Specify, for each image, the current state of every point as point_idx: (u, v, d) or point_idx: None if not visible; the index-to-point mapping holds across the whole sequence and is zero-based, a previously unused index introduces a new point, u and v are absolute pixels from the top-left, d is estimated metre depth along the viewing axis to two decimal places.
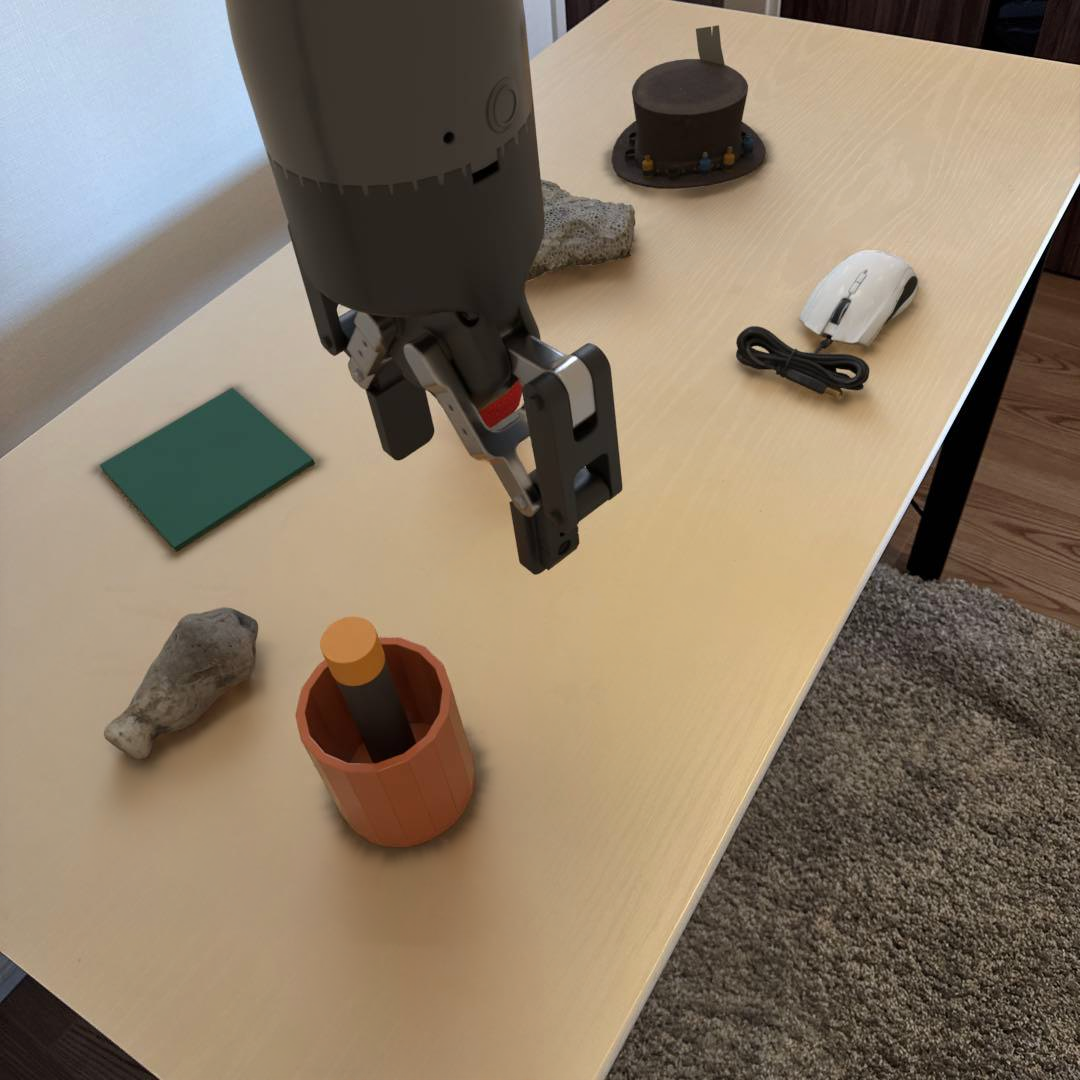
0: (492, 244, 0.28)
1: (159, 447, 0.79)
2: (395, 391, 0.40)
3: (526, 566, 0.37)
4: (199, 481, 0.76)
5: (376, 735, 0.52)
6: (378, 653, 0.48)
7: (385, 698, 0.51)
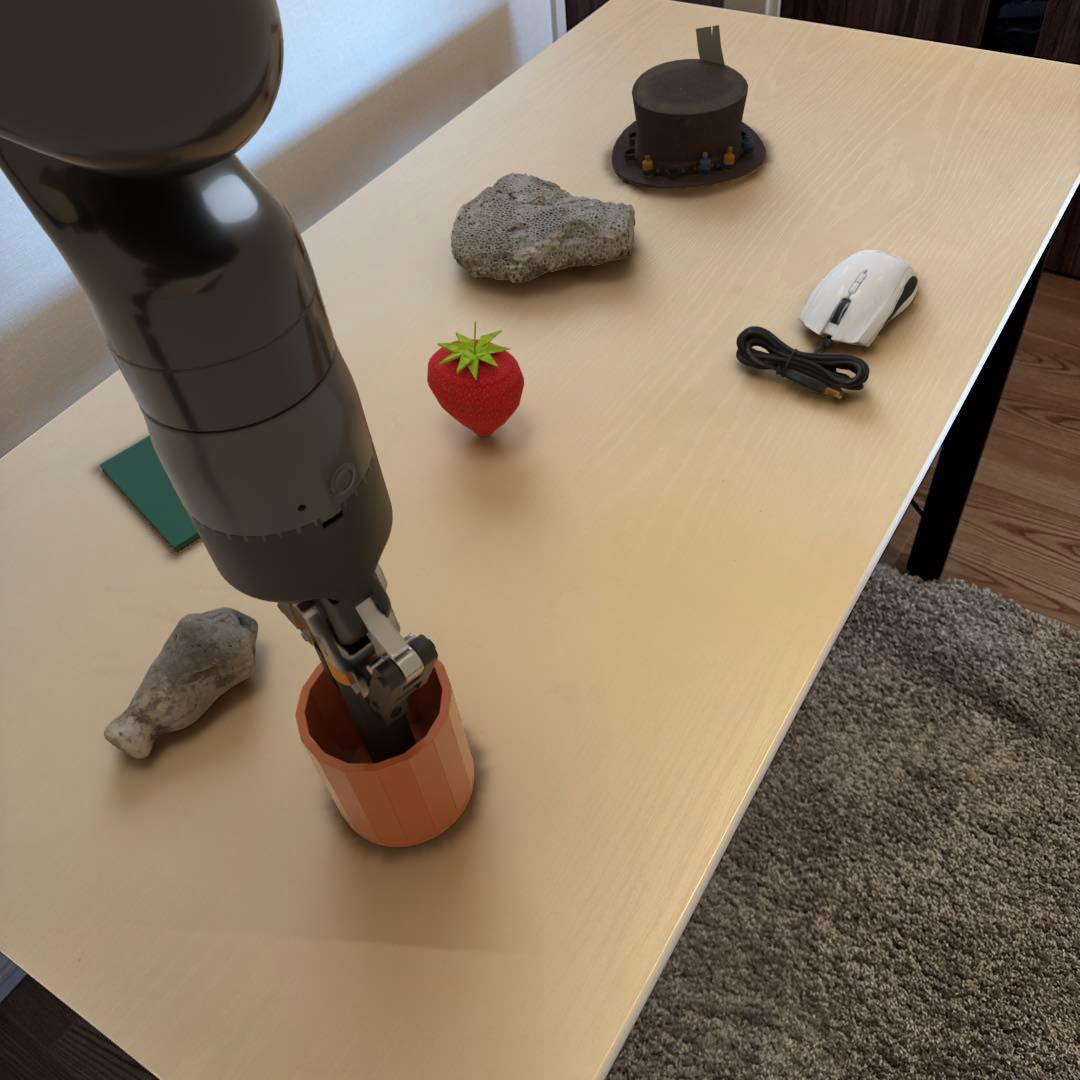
0: (343, 557, 0.39)
1: None
2: None
3: (370, 723, 0.50)
4: None
5: (376, 735, 0.52)
6: None
7: None
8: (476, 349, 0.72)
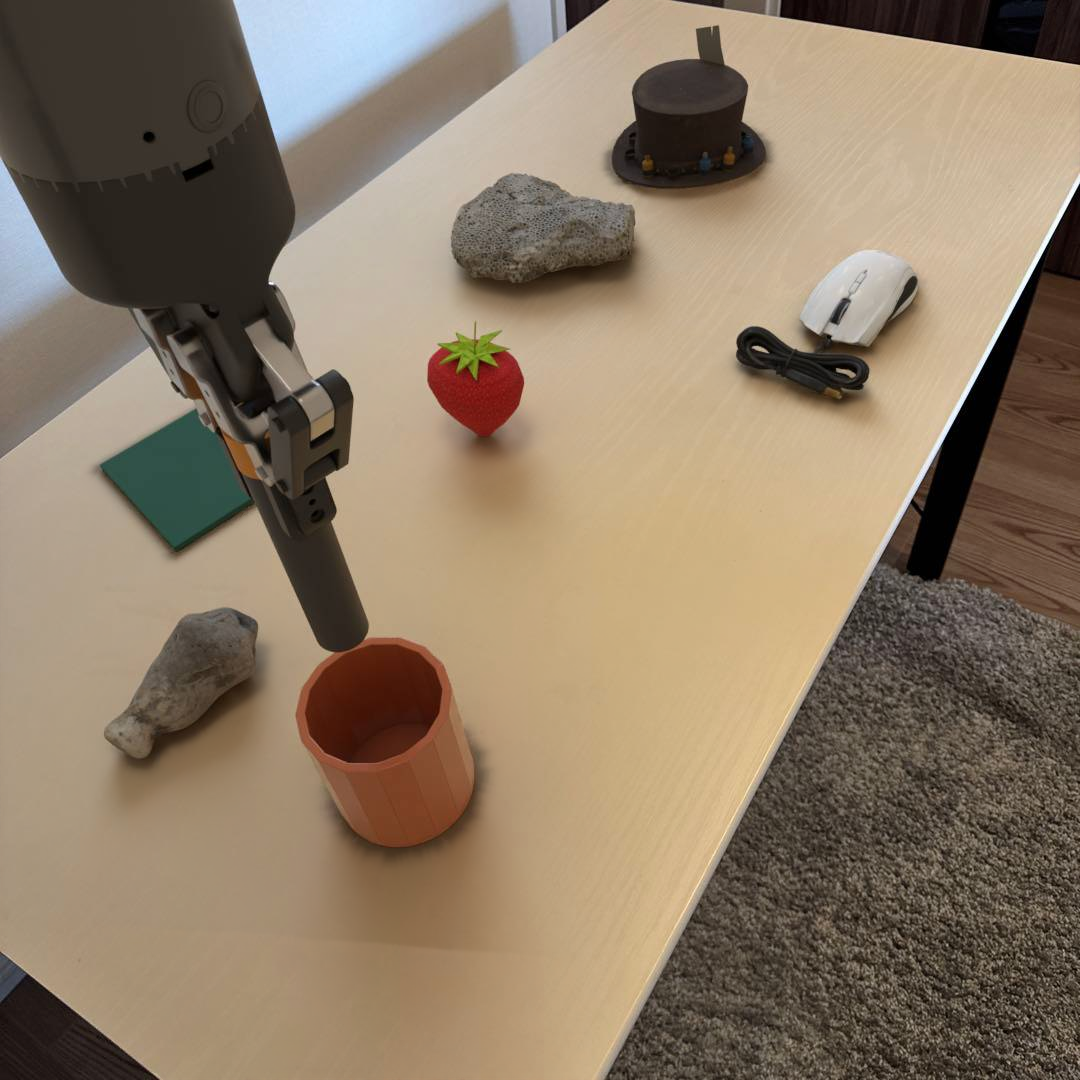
0: (219, 239, 0.29)
1: (159, 447, 0.79)
2: None
3: (287, 533, 0.41)
4: (199, 481, 0.76)
5: (299, 557, 0.43)
6: None
7: None
8: (476, 349, 0.72)
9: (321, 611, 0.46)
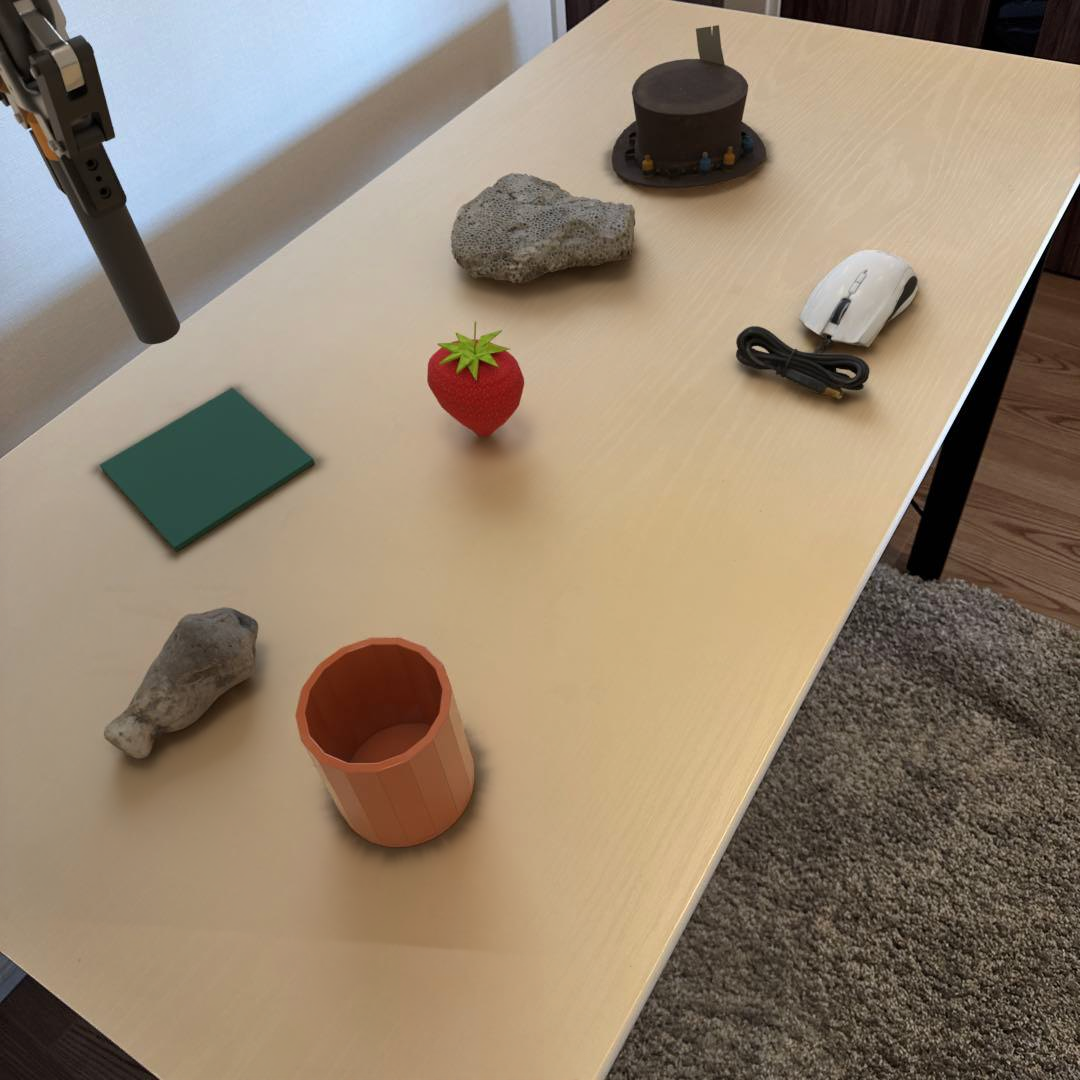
0: None
1: (159, 447, 0.79)
2: None
3: (85, 211, 0.53)
4: (199, 481, 0.76)
5: (103, 241, 0.56)
6: None
7: None
8: (476, 349, 0.72)
9: (131, 299, 0.59)
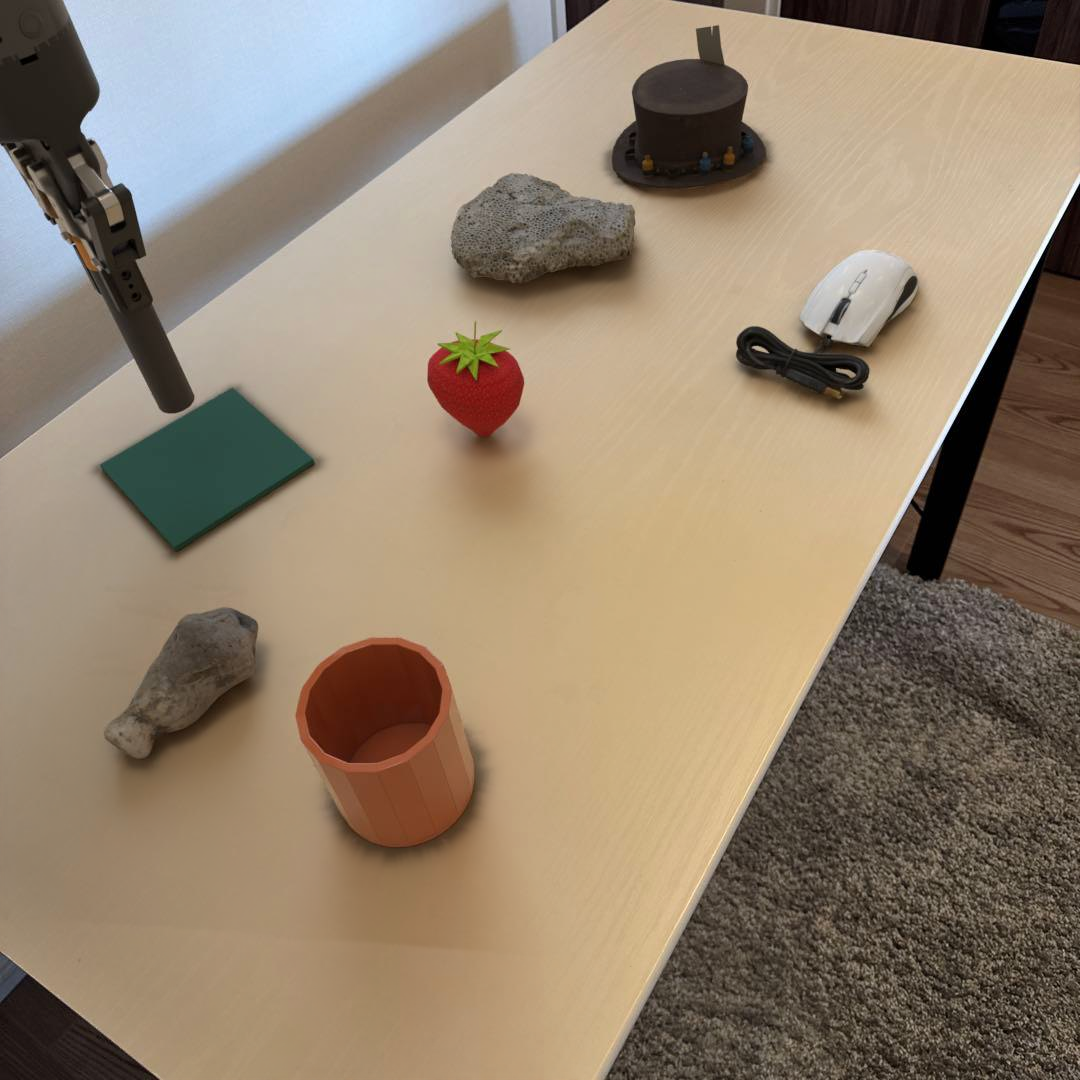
0: (45, 100, 0.53)
1: (159, 447, 0.79)
2: None
3: (119, 310, 0.64)
4: (199, 481, 0.76)
5: (133, 333, 0.67)
6: None
7: None
8: (476, 349, 0.72)
9: (154, 378, 0.69)
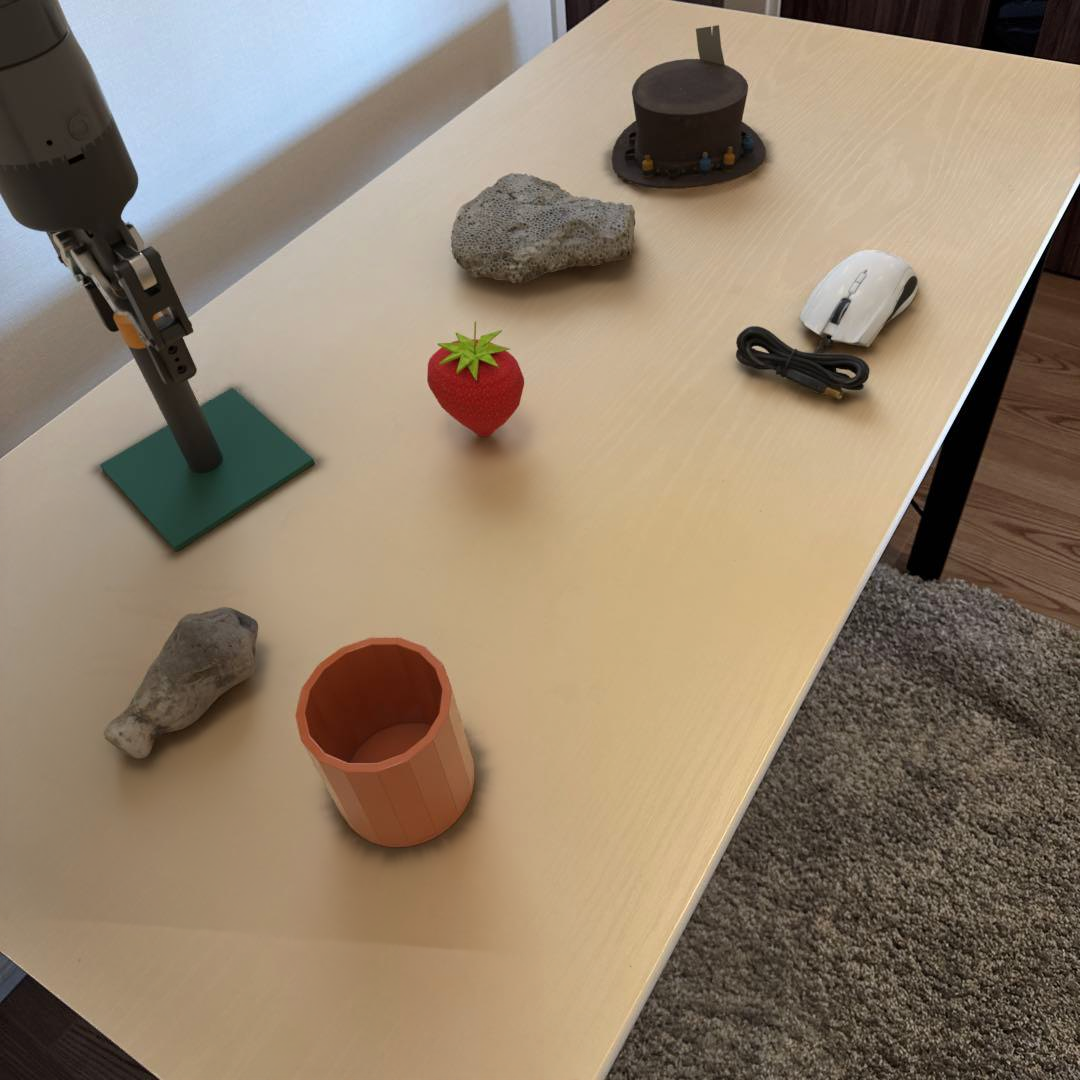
0: (90, 194, 0.57)
1: (159, 447, 0.79)
2: None
3: None
4: (199, 481, 0.76)
5: (167, 402, 0.71)
6: None
7: None
8: (476, 349, 0.72)
9: (186, 441, 0.74)
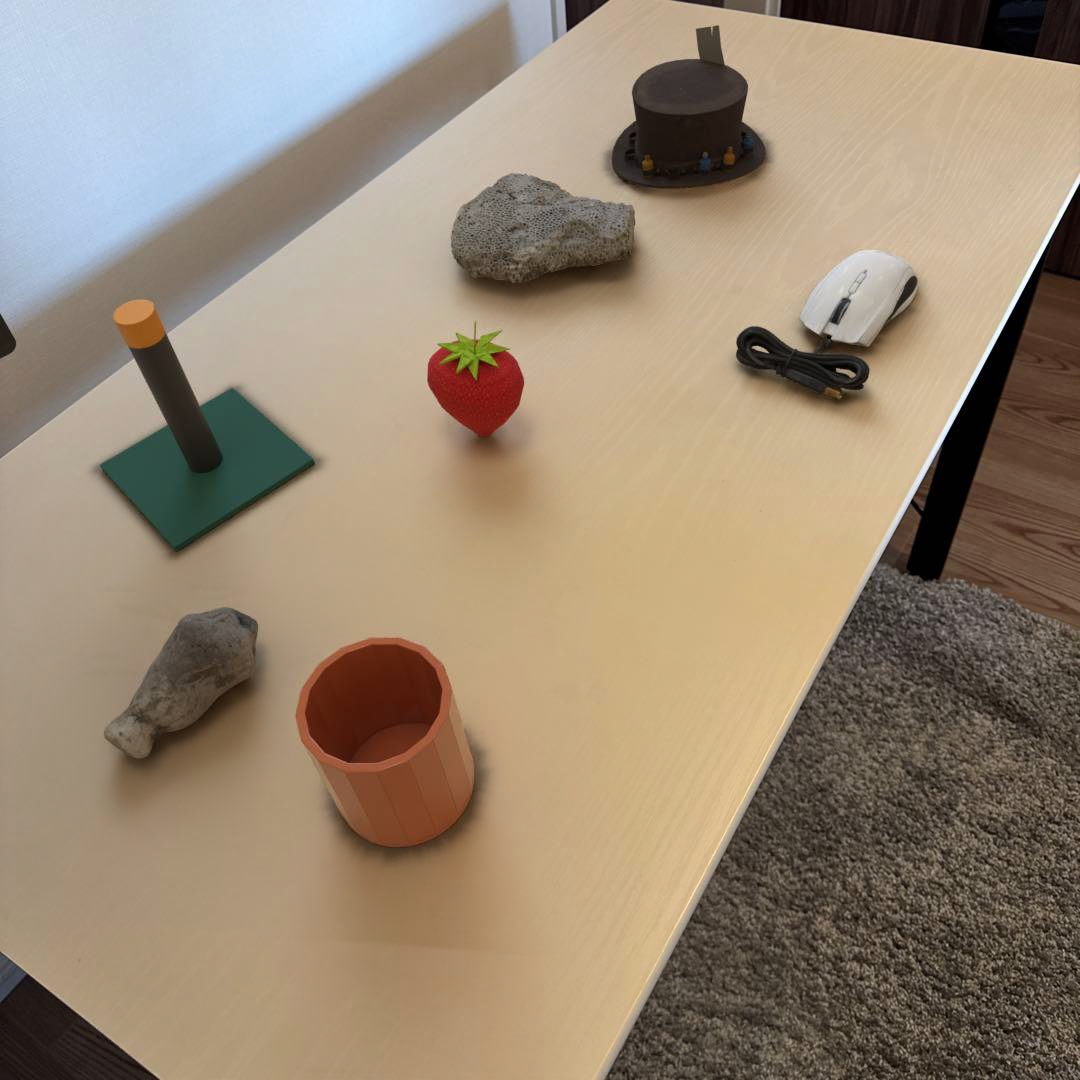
0: None
1: (159, 447, 0.79)
2: None
3: None
4: (199, 481, 0.76)
5: (167, 402, 0.71)
6: (156, 323, 0.67)
7: (168, 366, 0.69)
8: (476, 349, 0.72)
9: (186, 441, 0.74)
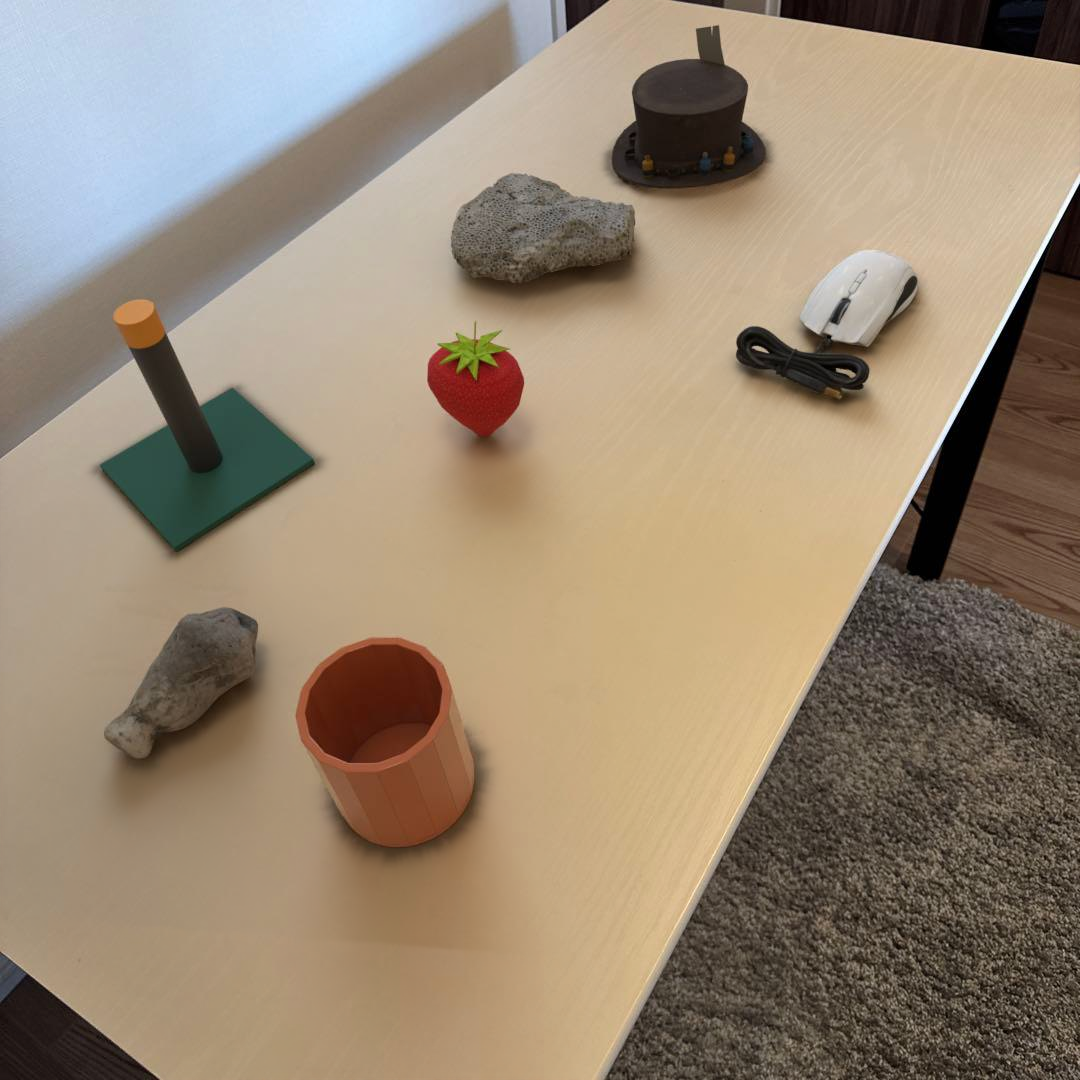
0: None
1: (159, 447, 0.79)
2: None
3: None
4: (199, 481, 0.76)
5: (167, 402, 0.71)
6: (156, 323, 0.67)
7: (168, 366, 0.69)
8: (476, 349, 0.72)
9: (186, 441, 0.74)
